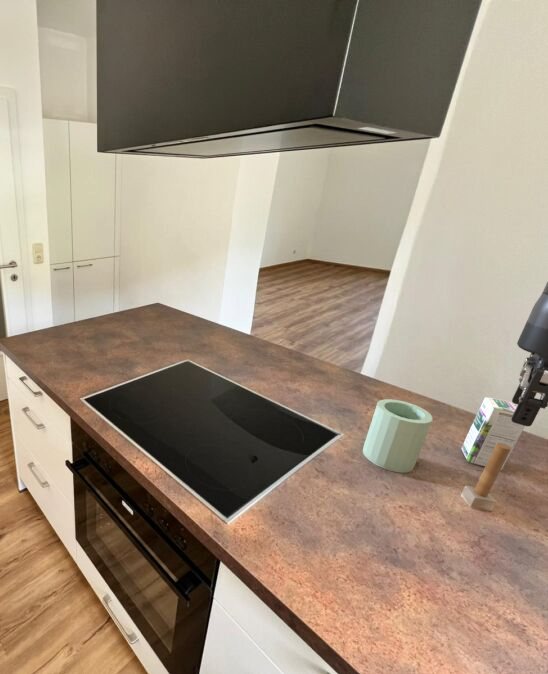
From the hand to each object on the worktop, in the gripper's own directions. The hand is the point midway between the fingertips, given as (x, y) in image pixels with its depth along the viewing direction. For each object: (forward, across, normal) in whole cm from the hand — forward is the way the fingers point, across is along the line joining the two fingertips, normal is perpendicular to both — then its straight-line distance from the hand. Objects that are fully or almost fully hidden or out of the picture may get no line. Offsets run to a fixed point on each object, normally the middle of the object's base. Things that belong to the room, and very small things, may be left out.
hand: (520, 413), depth 61 cm
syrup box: (+22, +21, 0) cm, 30 cm away
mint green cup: (+22, +6, +15) cm, 27 cm away
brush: (+22, 0, 0) cm, 22 cm away
